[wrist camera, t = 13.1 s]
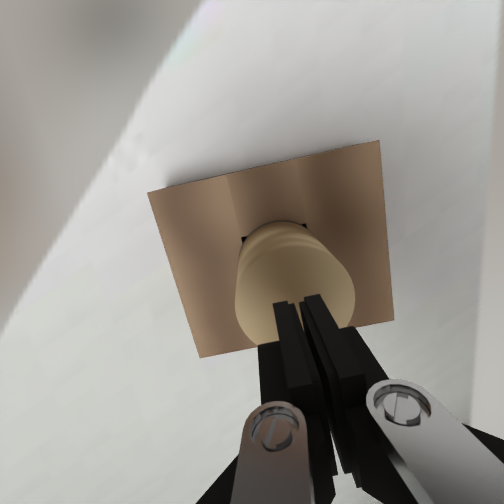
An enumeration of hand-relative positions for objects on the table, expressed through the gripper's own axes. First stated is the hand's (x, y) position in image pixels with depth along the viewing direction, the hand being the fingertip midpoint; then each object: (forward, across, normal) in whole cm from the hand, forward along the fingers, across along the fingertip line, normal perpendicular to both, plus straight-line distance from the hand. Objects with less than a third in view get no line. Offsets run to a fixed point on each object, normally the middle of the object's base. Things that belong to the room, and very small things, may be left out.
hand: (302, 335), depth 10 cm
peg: (+12, 0, 0) cm, 12 cm away
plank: (+13, 0, 0) cm, 13 cm away
